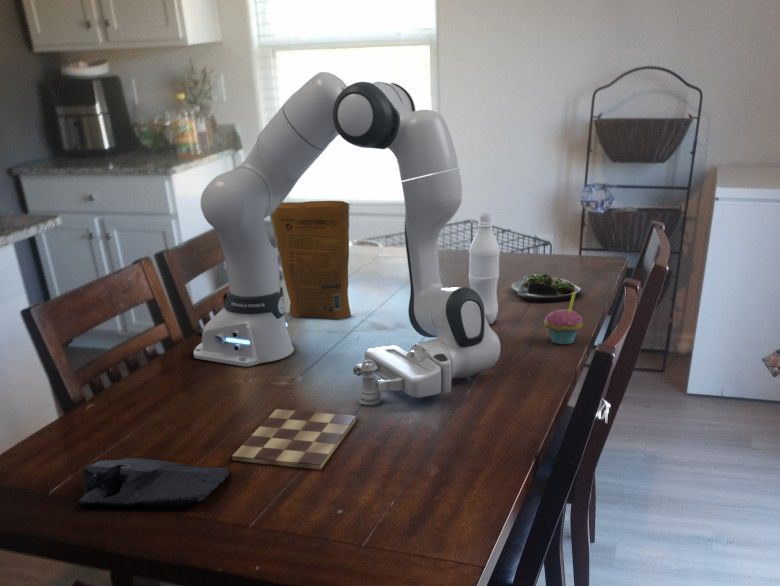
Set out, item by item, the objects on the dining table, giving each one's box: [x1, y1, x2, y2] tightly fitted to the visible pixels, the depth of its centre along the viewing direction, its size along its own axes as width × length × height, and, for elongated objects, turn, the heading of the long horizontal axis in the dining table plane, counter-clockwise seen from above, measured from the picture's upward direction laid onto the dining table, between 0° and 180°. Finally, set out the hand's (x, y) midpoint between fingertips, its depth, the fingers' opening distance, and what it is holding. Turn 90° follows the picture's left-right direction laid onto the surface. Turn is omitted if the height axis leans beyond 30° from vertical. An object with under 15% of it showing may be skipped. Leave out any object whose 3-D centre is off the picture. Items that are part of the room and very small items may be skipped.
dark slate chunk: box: [78, 457, 230, 507], centre depth 135 cm, size 15×22×5 cm
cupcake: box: [544, 289, 585, 345], centre depth 187 cm, size 9×8×12 cm
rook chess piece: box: [358, 361, 382, 407], centre depth 162 cm, size 4×4×8 cm
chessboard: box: [231, 408, 357, 471], centre depth 150 cm, size 16×20×1 cm
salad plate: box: [511, 273, 582, 304], centre depth 222 cm, size 19×18×5 cm
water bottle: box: [468, 212, 501, 326], centre depth 197 cm, size 7×7×25 cm
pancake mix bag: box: [269, 200, 352, 320], centre depth 204 cm, size 7×19×28 cm, turn 75°
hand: (365, 378), depth 161 cm, fingers open, 8 cm apart
